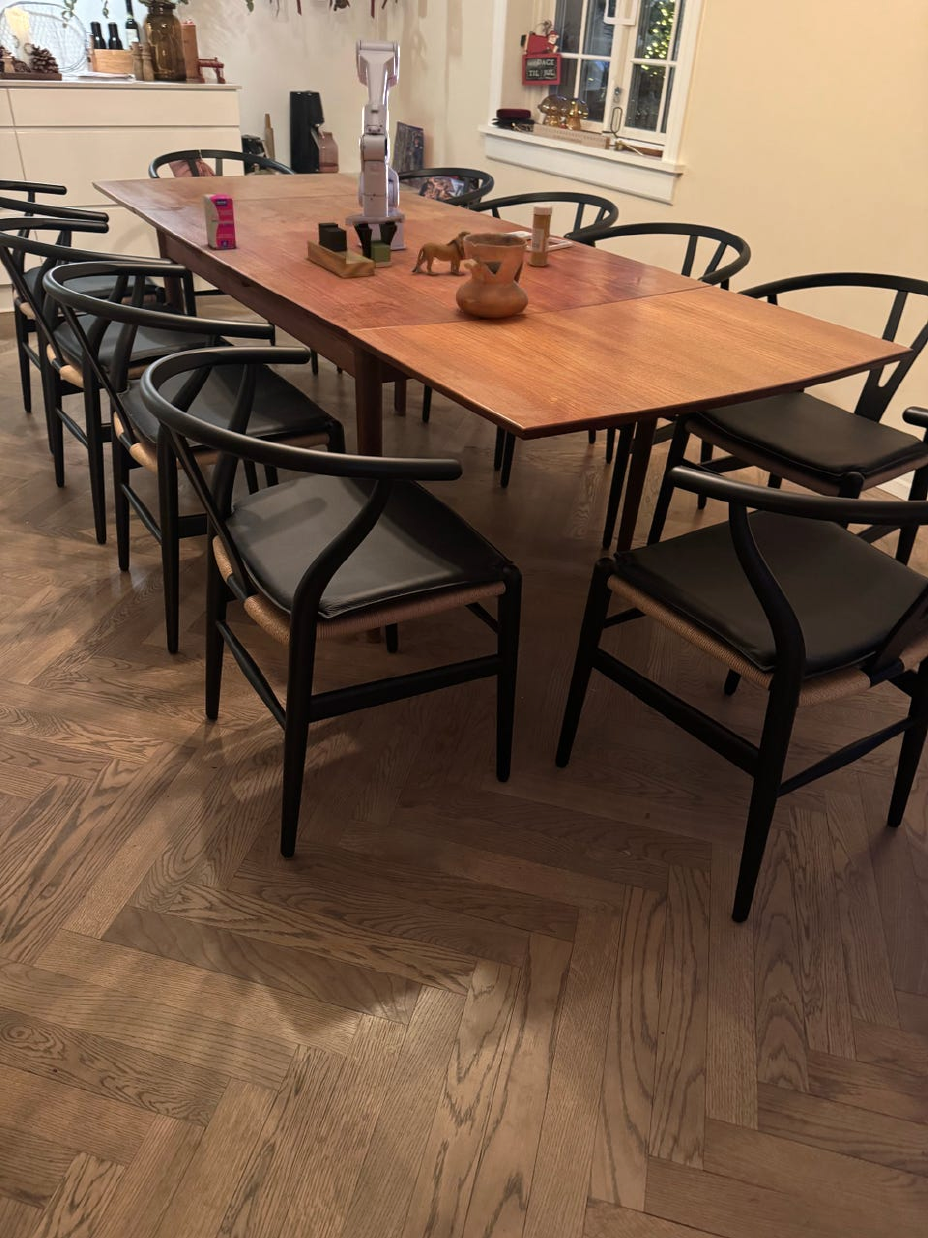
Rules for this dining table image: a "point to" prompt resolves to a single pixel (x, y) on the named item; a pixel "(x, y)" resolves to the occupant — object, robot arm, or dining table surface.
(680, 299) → the dining table surface
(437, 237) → the dining table surface
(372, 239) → the green block
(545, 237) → the sprinkles bottle
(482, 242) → the ceramic jug
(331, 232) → the black block
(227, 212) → the supplement box
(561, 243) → the photo frame
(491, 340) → the dining table surface
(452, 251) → the lion figurine
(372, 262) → the wooden tray
